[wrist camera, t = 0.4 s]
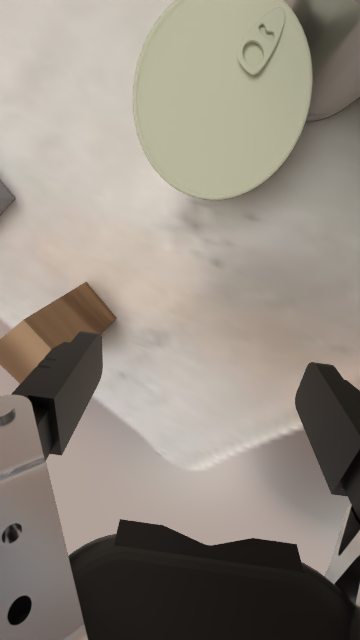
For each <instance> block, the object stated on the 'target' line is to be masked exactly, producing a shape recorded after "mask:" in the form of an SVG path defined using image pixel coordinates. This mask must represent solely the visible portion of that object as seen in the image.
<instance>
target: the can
mask: <svg viewBox="0 0 360 640" xmlns="http://www.w3.org/2000/svg"><path fill="white" fill-rule="evenodd" d="M312 84H313V75H312V61H311V54H310V49H309V45H308V42H307V38H306V35H305V33H304V30H303V28H302V26H301V24H300V22H299V20H298V18H297V16H296V15H295V13H294V12H293V10H292V9H291V8H290V6H289V5H288V4H287V3H286V2H285V1H284V0H175V1H174V2H173V3H172V4H171V5H170V6H169V7H168V8H167V9H166V10H165V11H164V13H163V14H162V15H161V16H160V18H159V19H158V20H157V22H156V23H155V25H154V26H153V28H152V30H151V32H150V33H149V35H148V37H147V39H146V41H145V44H144V46H143V48H142V51H141V54H140V57H139V60H138V64H137V68H136V72H135V78H134V86H133V113H134V120H135V126H136V130H137V135H138V138H139V140H140V143H141V146H142V148H143V150H144V153H145V155H146V157H147V158H148V160H149V162H150V163H151V165H152V166H153V168H154V169H155V170H156V171H157V173H158V174H159V175H160V176H161V177H162V178H163V179H164V180H165V181H166V182H167V183H169V184H170V185H171V186H172V187H174V188H176V189H177V190H179V191H181V192H183V193H185V194H187V195H189V196H192V197H196V198H200V199H207V200H225V199H230V198H233V197H236V196H239V195H242V194H244V193H246V192H249V191H251V190H252V189H254V188H256V187H257V186H259V185H260V184H262V183H263V182H265V181H266V180H267V179H268V178H270V177H271V176H272V175H273V174H274V173H275V172H276V171H277V170H278V169H279V167H280V166H281V165H282V164H283V163H284V161H285V160H286V159H287V157H288V156H289V154H290V153H291V152H292V150H293V148H294V147H295V145H296V143H297V141H298V139H299V137H300V135H301V132H302V130H303V127H304V125H305V122H306V118H307V115H308V111H309V107H310V102H311V95H312Z"/></svg>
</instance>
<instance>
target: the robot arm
mask: <svg viewBox="0 0 360 640" xmlns="http://www.w3.org/2000/svg"><path fill="white" fill-rule="evenodd" d="M284 1H285V2H286V3H287V4H288V5H289V6H290V8H291V9H292V10H293V12H294V13H295V15H296V16H297V18H298V20H299V22H300V24H301V26H302V28H303V30H304V33H305V35H306V38H307V42H308V45H309V49H310V54H311V61H312V75H313V84H312V95H311V102H310V107H309V111H308V115H307V118H306V121H316V120H320V119H324V118H327V117H330V116H332V115H334V114H336V113H338V112H340V111H341V110H342V109H344V108H345V107H347V106H348V105H349V104H351V103H352V102H353V101H355V100H356V99H358V98H359V97H360V0H284ZM102 368H103V362H102V336H101V334H100V333H93V332H85V331H80V332H79V333H78V334H77V335H76V336H75V338H74V339H73V340H72V341H71V342H63V343H61V344H59V345H58V346H56V347H54V348H52V349H51V350H50V352H49V353H48V354H47V355H46V356H45V357H44V359H42V361H41V362H40V363H39V364H38V366H37V367H35V368H34V369H33V371H32V372H31V373H30V374H29V375H28V376H27V377H26V378H25V380H24V381H23V382H22V383H21V384H20V385H19V386H18V388H16V390H15V391H14V392H13V393H12V394H11V395H5V396H0V640H360V391H359V390H358V389H357V388H355V387H354V386H353V385H352V384H350V383H349V382H348V381H347V380H344V379H343V378H342V376H341V375H340V374H339V372H338V371H337V369H336V368H335V367H334V366H333V365H329V364H321V363H314V362H311V363H309V364H308V366H307V368H306V370H305V373H304V375H303V378H302V380H301V383H300V385H299V388H298V390H297V393H296V397H295V405H296V409H297V412H298V414H299V417H300V419H301V422H302V424H303V426H304V429H305V431H306V434H307V436H308V438H309V441H310V443H311V446H312V448H313V451H314V453H315V455H316V458H317V460H318V462H319V465H320V467H321V470H322V472H323V474H324V477H325V479H326V482H327V484H328V487H329V489H330V491H331V494H334V495H342V496H348V498H349V500H350V502H351V503H350V505H349V506H348V508H347V510H346V513H345V517H344V520H343V523H342V527H341V530H340V533H339V537H338V540H337V544H336V547H335V550H334V554H333V557H332V560H331V563H330V566H329V568H328V570H327V572H326V574H325V576H323V575H322V574H320V573H319V572H317V571H316V570H314V569H313V568H311V567H309V566H308V565H306V564H304V563H302V562H301V560H300V556H299V552H298V548H297V545H296V544H290V543H283V542H276V541H268V540H262V539H255V538H252V539H246V540H240V541H235V542H229V543H224V544H218V545H213V546H209V545H204V544H202V543H200V542H198V541H196V540H193V539H191V538H189V537H187V536H185V535H183V534H180V533H178V532H176V531H174V530H172V529H169V528H168V527H165V526H163V525H156V524H149V523H142V522H135V521H128V520H121V519H120V522H119V526H118V530H117V534H113V535H108V536H105V537H102V538H99V539H96V540H94V541H92V542H90V543H87V544H86V545H84V546H82V547H81V548H79V549H77V550H76V551H74V552H73V553H72V554H70V555H69V556H68V553H67V549H66V544H65V540H64V536H63V532H62V527H61V523H60V519H59V515H58V511H57V507H56V502H55V498H54V494H53V489H52V485H51V481H50V477H49V472H48V469H47V464H46V459H47V457H48V455H49V454H57V455H62V454H63V452H64V450H65V448H66V446H67V444H68V442H69V440H70V438H71V436H72V434H73V432H74V430H75V428H76V426H77V424H78V422H79V420H80V419H81V417H82V415H83V413H84V411H85V409H86V407H87V405H88V403H89V401H90V399H91V397H92V395H93V393H94V391H95V389H96V387H97V385H98V383H99V381H100V378H101V375H102Z"/></svg>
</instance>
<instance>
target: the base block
mask: <svg viewBox="0 0 360 640" xmlns="http://www.w3.org/2000/svg"><path fill="white" fill-rule="evenodd" d="M14 199H15V197H14V196H13V195H12V193H11V192H10V191H9V190H8V189H7V188H6V186H5V185H4V184H3V183H2V182H1V180H0V215H1V214H2V212H3V211H4V210H5V209H6V208H7V207H8V206H9V205H10V204H11V202H12V201H13V200H14Z"/></svg>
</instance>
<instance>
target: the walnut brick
mask: <svg viewBox="0 0 360 640" xmlns="http://www.w3.org/2000/svg"><path fill="white" fill-rule="evenodd" d="M115 319H116V317H115V316H114V314H113V313H112V312H111V311H110V310H109V308H108V307H107V306H106V305H105V304H104V302H103V301H102V300H101V299H100V298H99V297H98V295H97V294H96V293H95V292H94V291H93V289H92V288H91V287H90V286H89V285H88V283H87V282H85V283H84V284H82V285H80V286H79V287H77V288H75V289H74V290H72V291H70V292H69V293H67V294H65V295H64V296H62V297H60V298H59V299H57V300H55V301H54V302H52V303H51V304H49V305H47V306H46V307H44V308H42V309H41V310H39V311H37V312H36V313H34V314H32V315H31V316H29V317H27V318H26V319H24V320H23V321H22V322H20V323H19V324H18V325H17V326H16V327H14V328H13V329H12V330H11V331H10V332H8V333H7V334H6V335H5V336H4V337H2V338H1V339H0V365H1V366H2V367H3V368H4V369H6V370H7V371H8V372H9V373H10V374H11V375H12V376H13V377H14V378H15V379H16V380H17V381H18V382H19V383H20V384H21V383H22V382H23V381H24V380H25V378H26V377H27V376H28V375H29V374H30V373H31V372H32V371H33V369H34V368H35V367H37V366H38V364H39V363H40V362H41V361H42V359H44V357H45V356H46V355H47V354H48V353H49V352H50V350H51V349H52V348H54V347H56V346H58V345H59V344H61V343H63V342H71V341H72V340H73V339H74V338H75V336H76V335H77V334H78V333H79V332H80V331H85V332H93V333H100V334H102V333H103V332H104V331H105V330H106V329H107V327H108V326H109V325H110V324H111V323H112V322H113V321H114V320H115Z"/></svg>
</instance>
